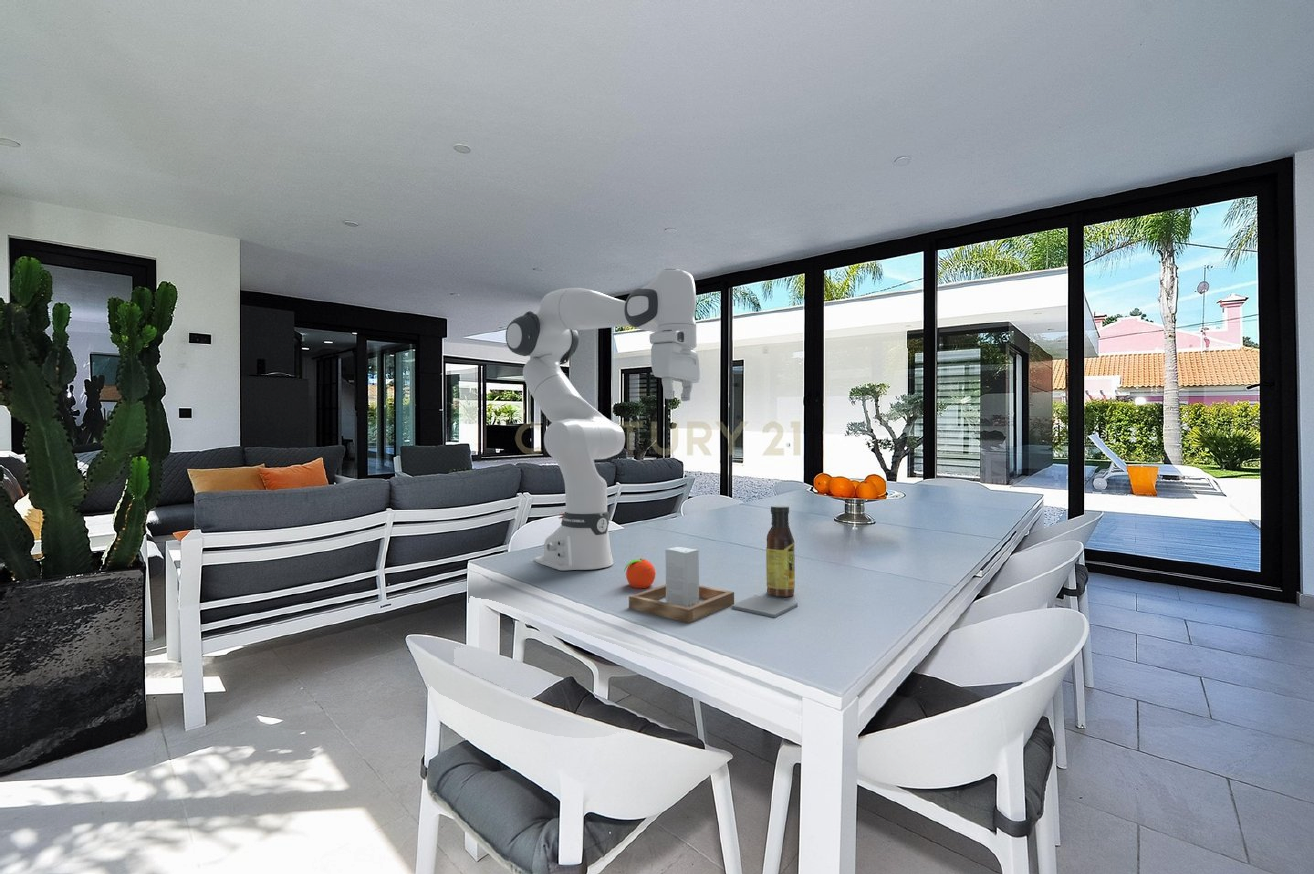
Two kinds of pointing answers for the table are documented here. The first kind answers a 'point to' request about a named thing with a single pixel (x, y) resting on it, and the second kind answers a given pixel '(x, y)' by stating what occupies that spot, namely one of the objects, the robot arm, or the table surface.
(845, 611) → the table surface
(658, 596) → the frame
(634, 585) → the clementine
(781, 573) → the sauce bottle
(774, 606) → the slate pad
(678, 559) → the skincare box
